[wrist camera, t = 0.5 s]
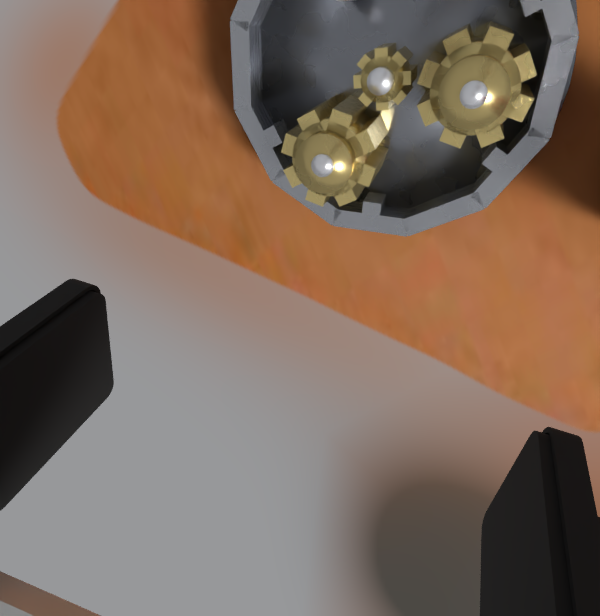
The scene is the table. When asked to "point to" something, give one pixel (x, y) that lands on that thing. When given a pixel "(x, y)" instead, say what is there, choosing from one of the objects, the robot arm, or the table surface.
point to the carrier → (399, 101)
